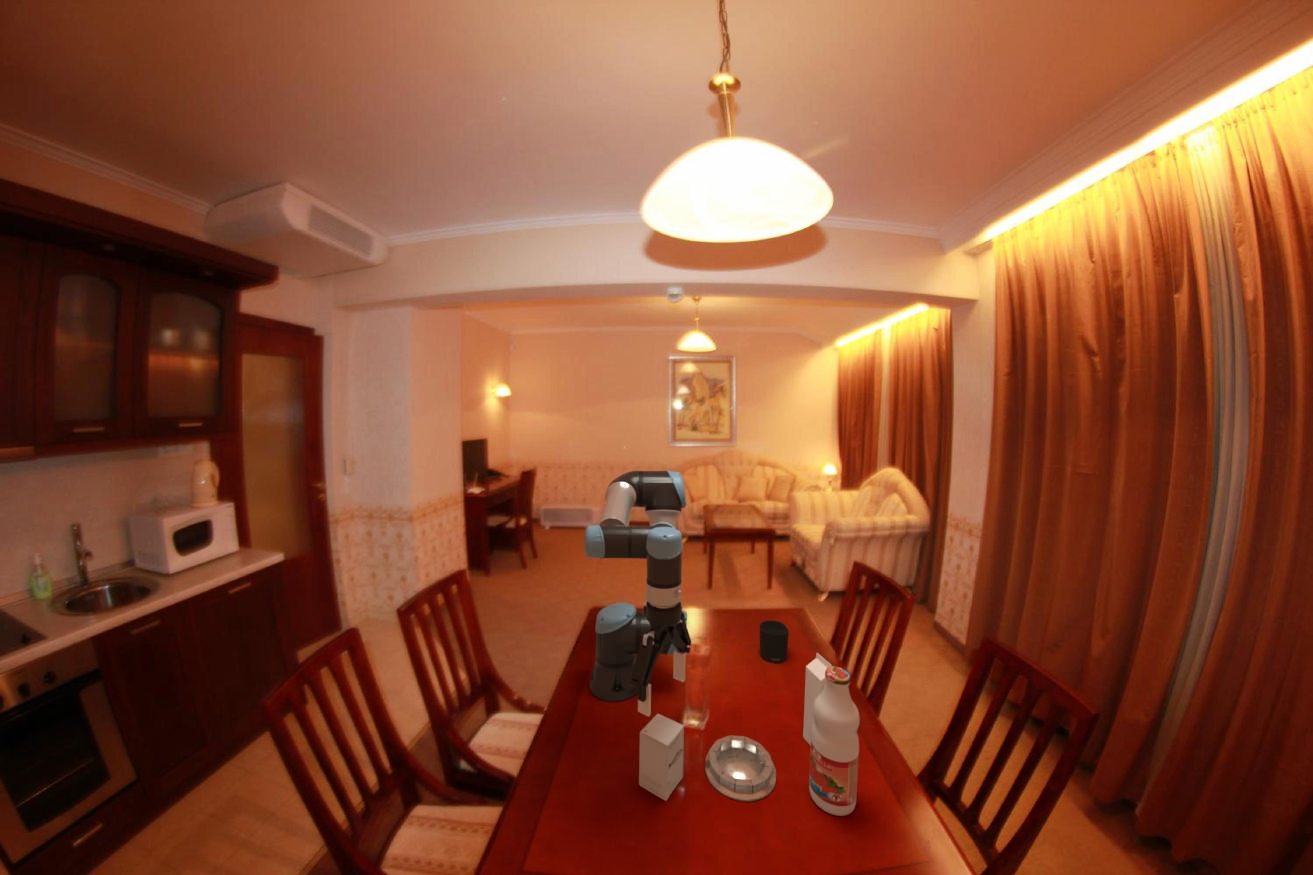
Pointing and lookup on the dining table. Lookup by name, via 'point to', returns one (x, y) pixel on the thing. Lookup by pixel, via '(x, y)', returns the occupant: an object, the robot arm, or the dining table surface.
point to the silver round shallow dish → (740, 768)
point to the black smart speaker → (773, 641)
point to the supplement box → (661, 756)
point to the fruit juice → (834, 746)
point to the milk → (813, 691)
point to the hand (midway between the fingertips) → (662, 695)
